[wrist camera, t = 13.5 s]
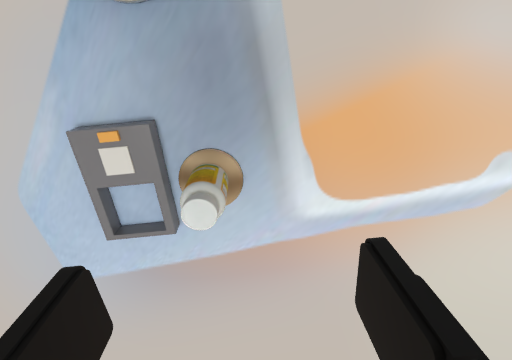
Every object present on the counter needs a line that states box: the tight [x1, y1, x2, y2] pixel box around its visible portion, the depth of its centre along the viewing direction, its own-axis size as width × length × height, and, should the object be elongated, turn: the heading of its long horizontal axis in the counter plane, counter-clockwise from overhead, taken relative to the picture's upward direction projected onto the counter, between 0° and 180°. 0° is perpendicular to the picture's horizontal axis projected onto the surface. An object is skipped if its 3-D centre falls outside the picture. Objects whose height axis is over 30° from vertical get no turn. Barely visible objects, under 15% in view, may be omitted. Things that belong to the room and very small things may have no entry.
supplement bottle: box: [180, 164, 228, 230], centre depth 33 cm, size 5×5×10 cm
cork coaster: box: [179, 149, 243, 205], centre depth 38 cm, size 9×9×1 cm
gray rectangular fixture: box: [66, 120, 179, 240], centre depth 37 cm, size 16×10×3 cm, turn 5°
